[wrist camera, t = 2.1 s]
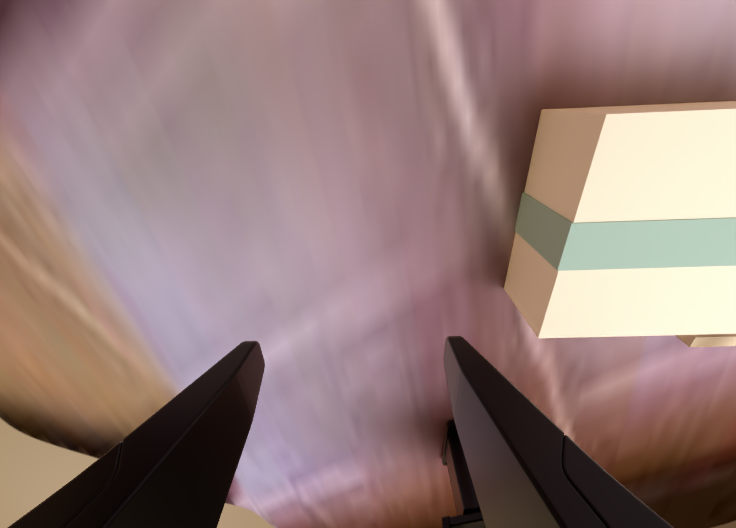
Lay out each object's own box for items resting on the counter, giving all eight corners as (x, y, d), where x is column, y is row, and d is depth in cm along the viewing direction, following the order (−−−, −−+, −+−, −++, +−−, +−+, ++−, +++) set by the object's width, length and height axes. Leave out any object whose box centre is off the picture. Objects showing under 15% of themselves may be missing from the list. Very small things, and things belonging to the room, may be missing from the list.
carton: (501, 287, 21) (536, 338, 17) (538, 109, 16) (604, 114, 11) (667, 282, 21) (749, 333, 16) (762, 99, 15) (922, 100, 11)
